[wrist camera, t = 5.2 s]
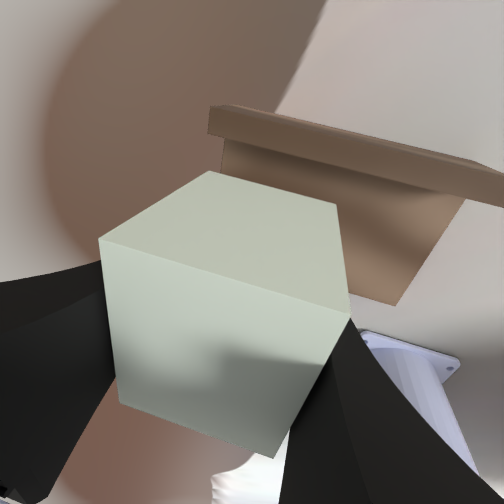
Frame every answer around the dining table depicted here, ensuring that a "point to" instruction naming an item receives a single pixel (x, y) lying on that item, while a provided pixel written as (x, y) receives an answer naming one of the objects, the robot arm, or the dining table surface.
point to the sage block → (225, 307)
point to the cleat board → (358, 189)
